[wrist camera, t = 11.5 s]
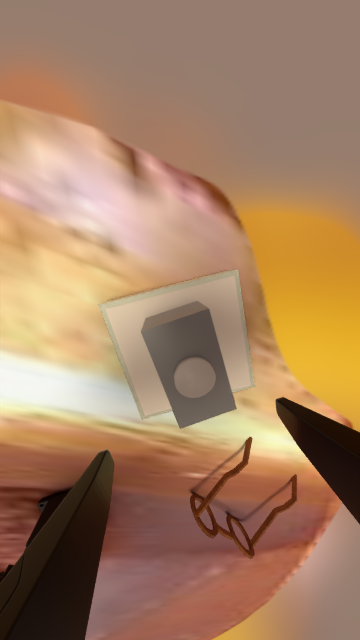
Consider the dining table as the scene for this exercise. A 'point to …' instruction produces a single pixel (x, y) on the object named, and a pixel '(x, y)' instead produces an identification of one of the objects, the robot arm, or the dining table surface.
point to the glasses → (222, 531)
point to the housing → (189, 362)
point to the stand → (133, 309)
